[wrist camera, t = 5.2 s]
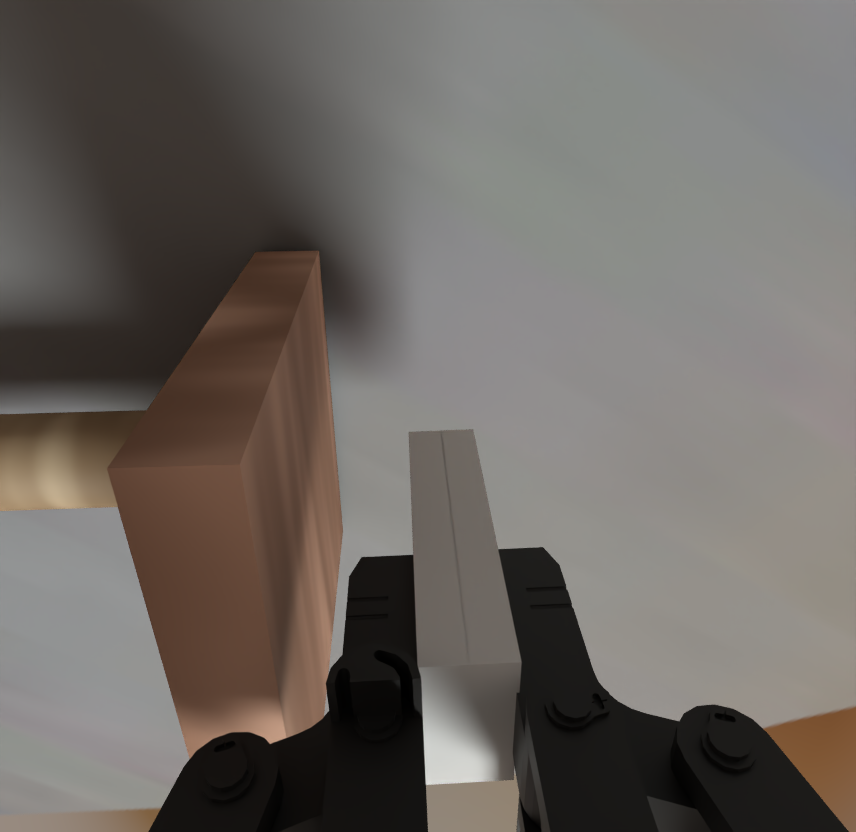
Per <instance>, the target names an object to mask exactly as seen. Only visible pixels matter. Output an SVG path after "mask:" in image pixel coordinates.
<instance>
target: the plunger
mask: <svg viewBox="0 0 856 832" xmlns="http://www.w3.org/2000/svg"><path fill="white" fill-rule="evenodd" d="M101 507H118V509H119V513H120V516H121V520H122V523H123V527H124V530H125V534H126V537H127V541H128V544H129V548H130V551H131V555H132V558H133V562H134V565H135V569H136V572H137V576H138V579H139V583H140V586H141V590H142V593H143V597H144V600H145V604H146V607H147V611H148V614H149V618H150V621H151V625H152V628H153V632H154V635H155V639H156V642H157V646H158V649H159V653H160V656H161V660H162V663H163V667H164V670H165V674H166V677H167V681H168V684H169V688H170V691H171V695H172V698H173V702H174V705H175V709H176V712H177V716H178V719H179V723H180V726H181V730H182V733H183V737H184V740H185V744H186V747H187V751H188V754H189V758H191V757H192V756H193V754H194V753H195V752H196V751H197V750H198V749H200V748H201V747H202V746H204V745H205V744H206V743H208V742H209V741H211V740H212V739H214V738H216V737H219V736H222V735H225V734H228V733H231V732H251V733H254V734H256V735H259V736H261V737H264V738H265V739H266V740H267V741H268V742H269V743H270V744H271V743H274V742H276V741H279V740H282V739H285V738H287V737H290V736H293V735H296V734H298V733H300V732H302V731H304V730H307V729H309V728H311V727H312V726H313V725H315V724H316V723H317V722H319V721H320V720H321V719H323V717H324V709H325V700H326V690H327V689H326V681H327V678H328V671H329V661H330V651H331V641H332V632H333V622H334V612H335V602H336V593H337V583H338V573H339V564H340V554H341V544H342V534H343V526H342V515H341V503H340V491H339V480H338V468H337V456H336V445H335V433H334V421H333V410H332V398H331V386H330V375H329V363H328V351H327V340H326V328H325V316H324V305H323V293H322V281H321V270H320V258H319V251H271V252H255V253H254V255H253V256H252V258H251V259H250V261H249V262H248V263H247V265H246V266H245V268H244V269H243V271H242V272H241V274H240V275H239V277H238V278H237V279H236V281H235V282H234V284H233V285H232V287H231V288H230V290H229V291H228V293H227V294H226V296H225V297H224V298H223V300H222V301H221V303H220V304H219V306H218V307H217V309H216V310H215V312H214V313H213V314H212V316H211V317H210V319H209V320H208V322H207V323H206V325H205V326H204V328H203V329H202V331H201V332H200V333H199V335H198V336H197V338H196V339H195V341H194V342H193V344H192V345H191V347H190V348H189V349H188V351H187V352H186V354H185V355H184V357H183V358H182V360H181V361H180V363H179V364H178V366H177V367H176V368H175V370H174V371H173V373H172V374H171V376H170V377H169V379H168V380H167V382H166V383H165V384H164V386H163V387H162V389H161V390H160V392H159V393H158V395H157V396H156V398H155V399H154V400H153V402H152V403H151V405H150V406H149V408H148V409H147V410H141V411H105V412H68V413H32V414H0V511H10V510H41V509H71V508H101Z"/></svg>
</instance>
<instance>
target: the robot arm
mask: <svg viewBox="0 0 856 832" xmlns="http://www.w3.org/2000/svg"><path fill="white" fill-rule="evenodd" d="M409 453H410V479H411V506H412V532H413V555H401V556H379V557H362V558H361V559H360V561H359V562H358V564H357V565H356V567H355V568H354V570H353V572H352V573H351V575H350V576H349V585H348V597H347V609H346V620H345V632H344V644H343V655H342V656H341V657H340V658H339V659H338V661H337V662H336V663H335V664H334V665H333V666H332V667H331V669H330V672H329V675H328V678H327V681H326V689H327V697H328V704H329V712H328V713H327V714H326V715H325V716H324V717H323V719H321V720H320V721H319V722H317V723H316V724H315V725H313V726H312V727H311V728H309V729H307V730H304V731H302V732H300V733H298V734H296V735H293V736H290V737H287V738H285V739H282V740H279V741H276V742H274V743H271V744H270V743H269V742H268V741H267V740H266V739H265V738H264V737H261V736H259V735H256V734H254V733H251V732H231V733H228V734H225V735H222V736H219V737H216V738H214V739H212V740H211V741H209V742H208V743H206V744H205V745H204V746H202V747H201V748H200V749H198V750H197V751H196V752H195V753H194V754H193V756H192V757H191V758H190V760H189V761H188V762H187V764H186V765H185V766H184V767H183V769H182V771H181V773H180V775H179V777H178V778H177V780H176V782H175V784H174V786H173V788H172V789H171V791H170V793H169V795H168V797H167V799H166V800H165V802H164V804H163V806H162V808H161V810H160V811H159V813H158V815H157V817H156V819H155V821H154V822H153V825H152V826H151V828H150V830H149V832H428V826H427V825H428V823H427V803H426V785H430V784H448V783H466V782H483V781H501V780H514V766H515V771H516V777H517V782H518V788H519V805H518V818H517V832H849V831H848V830H847V829H846V828H845V827H844V826H843V824H842V823H841V822H840V821H839V820H838V818H837V817H836V816H835V815H834V813H833V812H832V811H831V810H830V809H829V807H828V806H827V805H826V804H825V802H824V801H823V800H822V799H821V798H820V796H819V795H818V794H817V793H816V791H815V790H814V789H813V788H812V787H811V785H810V784H809V783H808V782H807V781H806V779H805V778H804V777H803V776H802V775H801V773H800V772H799V771H798V770H797V768H796V767H795V766H794V765H793V764H792V762H791V761H790V760H789V759H788V758H787V756H786V755H785V754H784V753H783V751H782V750H781V749H780V748H779V747H778V745H777V744H776V743H775V742H774V740H773V739H772V738H771V737H770V736H769V735H768V733H767V732H766V731H764V730H763V729H762V728H761V727H760V726H759V725H758V724H757V723H756V722H755V721H754V720H753V719H751V718H749V717H747V716H746V715H744V714H742V713H740V712H738V711H736V710H734V709H731V708H727V707H723V706H718V705H704V706H696V707H695V708H693V709H691V710H689V711H688V712H686V713H684V714H683V716H682V718H681V720H680V721H675V720H671V719H666V718H662V717H658V716H654V715H650V714H646V713H642V712H640V711H637V710H634V709H631V708H629V707H627V706H625V705H624V704H622V703H620V702H618V701H617V700H616V699H614V698H613V697H612V696H611V695H610V694H609V692H608V691H606V690H605V689H604V688H603V687H602V686H601V684H600V683H599V682H598V680H597V678H596V675H595V673H594V671H593V668H592V665H591V662H590V659H589V656H588V653H587V649H586V646H585V643H584V640H583V637H582V634H581V631H580V628H579V625H578V621H577V618H576V615H575V612H574V609H573V608H572V603H571V600H570V597H569V593H568V590H566V584H565V581H564V578H563V575H562V572H561V568H560V565H559V564H558V563H557V562H556V561H555V560H554V559H553V558H552V557H551V556H550V554H549V553H548V552H547V551H546V550H545V549H544V548H543V547H539V548H517V549H498V546H497V542H496V537H495V532H494V527H493V522H492V518H491V513H490V508H489V503H488V498H487V494H486V489H485V484H484V479H483V474H482V470H481V465H480V460H479V455H478V450H477V446H476V441H475V436H474V431H473V429H469V430H444V431H420V432H409Z"/></svg>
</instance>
